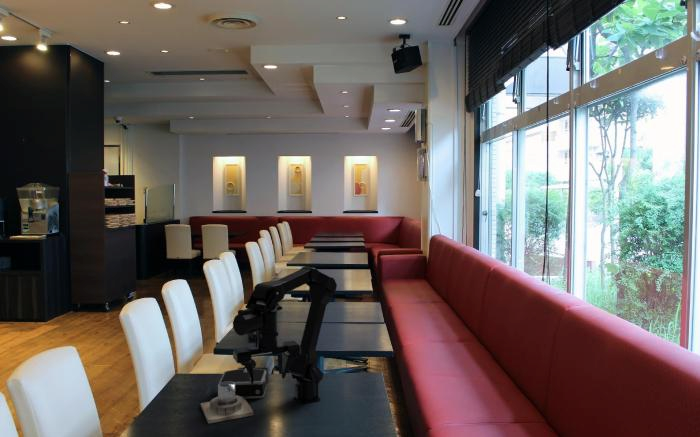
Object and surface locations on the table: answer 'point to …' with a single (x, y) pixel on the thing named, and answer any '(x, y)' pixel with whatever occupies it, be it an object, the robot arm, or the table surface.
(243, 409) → the mount
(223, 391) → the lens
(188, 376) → the table surface
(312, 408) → the table surface
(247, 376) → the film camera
